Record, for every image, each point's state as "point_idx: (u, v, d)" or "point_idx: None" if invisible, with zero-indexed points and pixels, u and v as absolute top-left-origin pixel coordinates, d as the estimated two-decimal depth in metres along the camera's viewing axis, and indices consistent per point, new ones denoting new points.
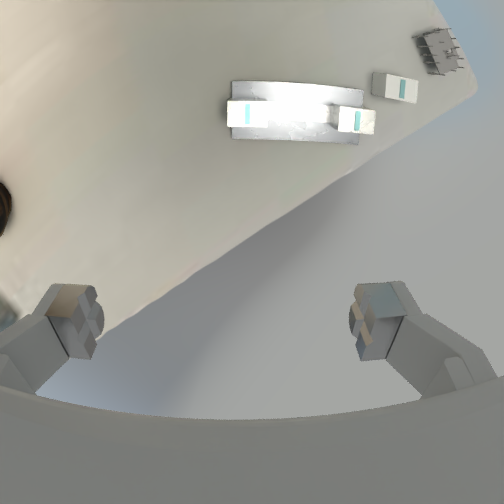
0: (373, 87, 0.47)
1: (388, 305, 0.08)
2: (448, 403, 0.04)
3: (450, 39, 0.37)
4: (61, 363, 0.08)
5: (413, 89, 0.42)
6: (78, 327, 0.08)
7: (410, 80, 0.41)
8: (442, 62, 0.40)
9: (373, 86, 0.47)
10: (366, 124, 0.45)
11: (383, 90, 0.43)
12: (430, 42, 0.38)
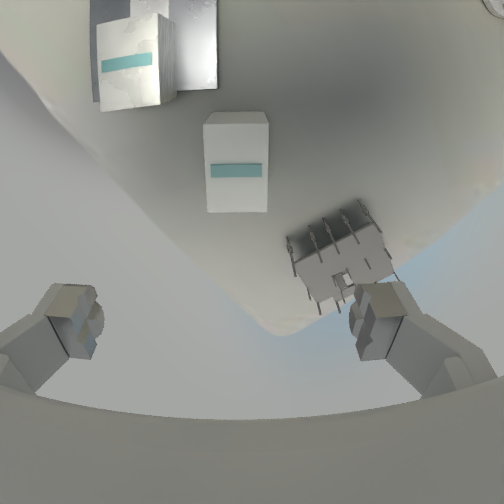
0: (228, 113, 0.23)
1: (388, 305, 0.08)
2: (448, 403, 0.04)
3: (373, 281, 0.27)
4: (61, 363, 0.08)
5: (242, 201, 0.21)
6: (78, 327, 0.08)
7: (263, 190, 0.21)
8: (321, 268, 0.26)
9: (230, 112, 0.23)
10: (121, 89, 0.16)
11: (221, 122, 0.19)
12: (362, 238, 0.25)
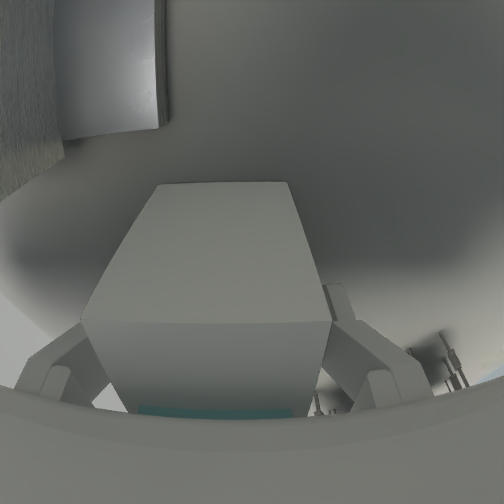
0: (194, 192, 0.09)
1: None
2: (448, 403, 0.04)
3: None
4: None
5: None
6: None
7: None
8: None
9: (201, 191, 0.09)
10: None
11: (147, 297, 0.05)
12: None
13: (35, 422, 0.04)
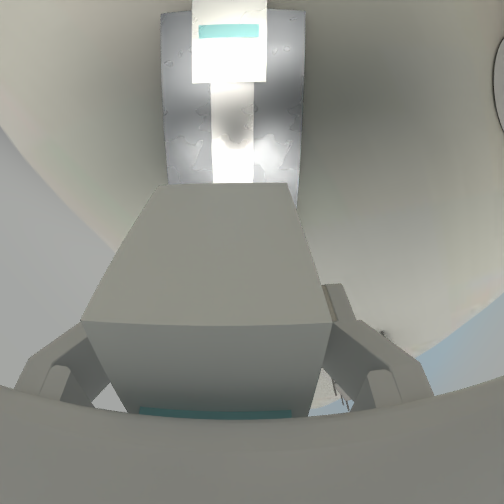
0: (194, 193, 0.09)
1: None
2: (448, 403, 0.04)
3: None
4: None
5: None
6: None
7: None
8: None
9: (201, 192, 0.09)
10: None
11: (148, 299, 0.05)
12: None
13: (35, 422, 0.04)
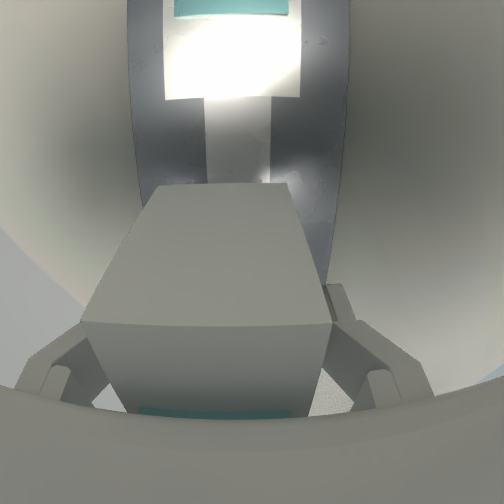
0: (194, 193, 0.09)
1: None
2: (448, 403, 0.04)
3: None
4: None
5: None
6: None
7: None
8: None
9: (201, 192, 0.09)
10: None
11: (147, 299, 0.05)
12: None
13: (35, 422, 0.04)
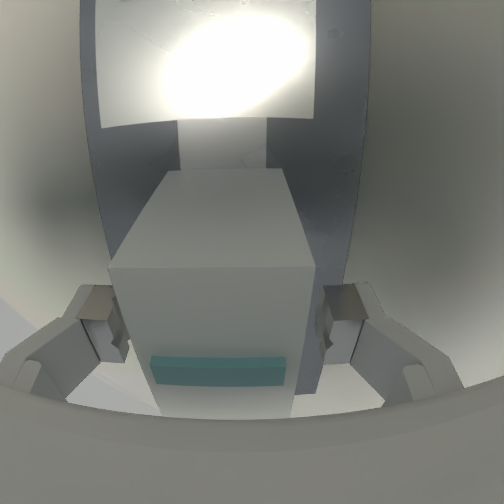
0: (200, 176, 0.10)
1: (349, 307, 0.08)
2: (448, 403, 0.04)
3: None
4: (92, 368, 0.08)
5: (237, 411, 0.09)
6: (113, 330, 0.08)
7: (285, 396, 0.08)
8: None
9: (206, 175, 0.10)
10: None
11: (164, 251, 0.06)
12: None
13: (35, 422, 0.04)
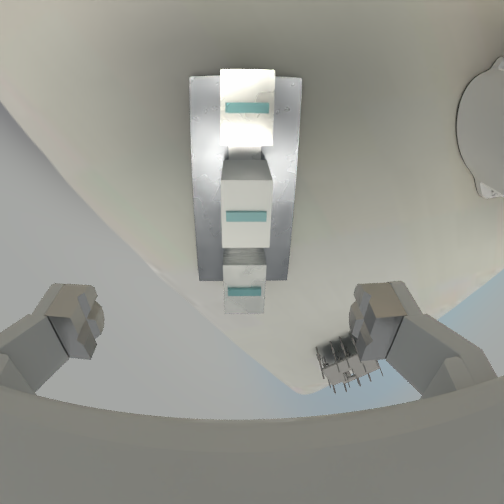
0: (237, 161, 0.28)
1: (388, 305, 0.08)
2: (448, 403, 0.04)
3: (367, 373, 0.43)
4: (61, 363, 0.08)
5: (250, 239, 0.27)
6: (78, 327, 0.08)
7: (267, 231, 0.27)
8: (337, 370, 0.42)
9: (239, 161, 0.29)
10: (239, 304, 0.32)
11: (234, 177, 0.25)
12: None
13: (35, 422, 0.04)
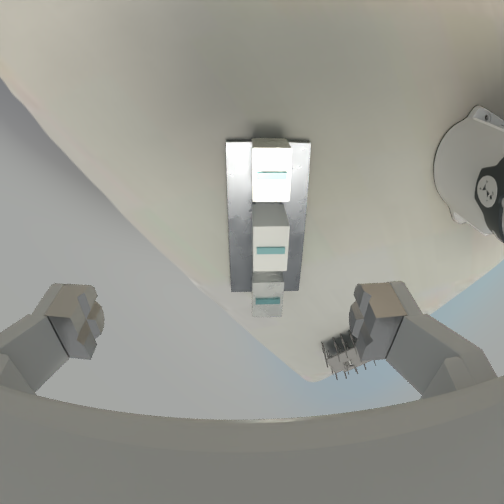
0: (262, 206, 0.39)
1: (388, 305, 0.08)
2: (448, 403, 0.04)
3: (363, 363, 0.54)
4: (61, 363, 0.08)
5: (273, 266, 0.38)
6: (78, 327, 0.08)
7: (285, 260, 0.37)
8: (338, 360, 0.53)
9: (264, 206, 0.40)
10: (264, 310, 0.43)
11: (262, 224, 0.36)
12: None
13: (35, 422, 0.04)
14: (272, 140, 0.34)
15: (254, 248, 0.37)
